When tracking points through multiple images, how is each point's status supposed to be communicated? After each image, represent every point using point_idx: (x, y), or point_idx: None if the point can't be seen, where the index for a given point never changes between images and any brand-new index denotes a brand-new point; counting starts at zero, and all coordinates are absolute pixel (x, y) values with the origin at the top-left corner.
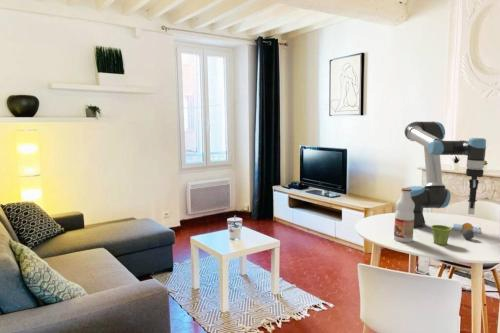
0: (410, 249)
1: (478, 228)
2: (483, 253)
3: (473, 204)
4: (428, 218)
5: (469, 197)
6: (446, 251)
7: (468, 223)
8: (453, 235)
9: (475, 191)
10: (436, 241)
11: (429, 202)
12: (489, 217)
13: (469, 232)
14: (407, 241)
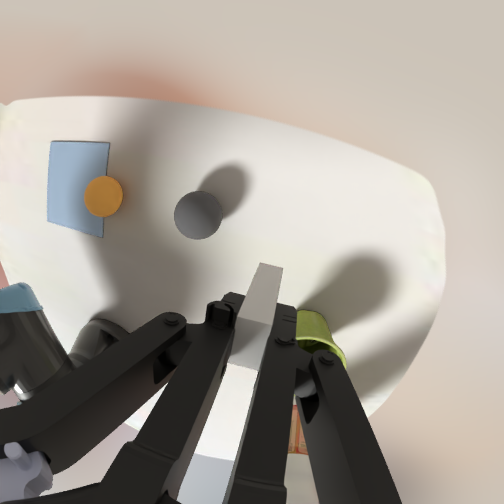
0: (380, 402)
1: (64, 147)
2: (388, 202)
3: (295, 331)
4: (36, 282)
5: (172, 367)
6: (390, 325)
7: (93, 197)
8: (174, 255)
9: (381, 475)
10: (320, 348)
11: (61, 368)
12: None
13: (212, 218)
14: None
